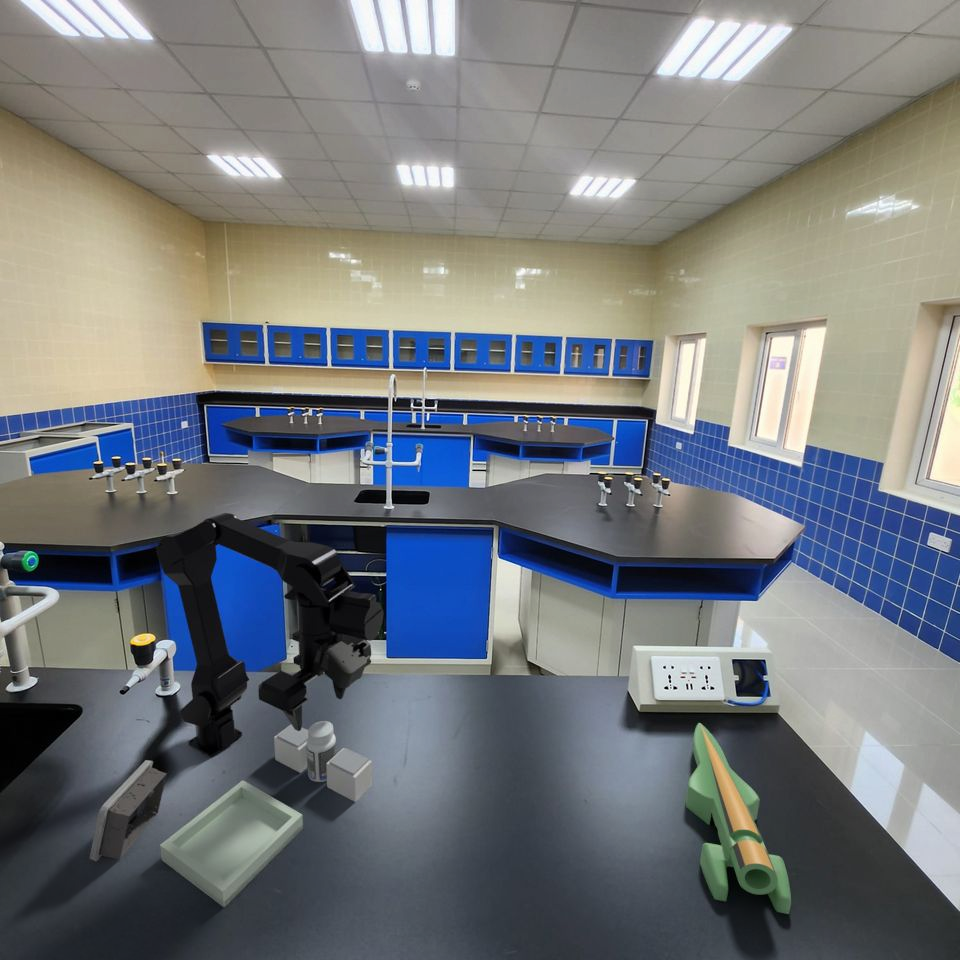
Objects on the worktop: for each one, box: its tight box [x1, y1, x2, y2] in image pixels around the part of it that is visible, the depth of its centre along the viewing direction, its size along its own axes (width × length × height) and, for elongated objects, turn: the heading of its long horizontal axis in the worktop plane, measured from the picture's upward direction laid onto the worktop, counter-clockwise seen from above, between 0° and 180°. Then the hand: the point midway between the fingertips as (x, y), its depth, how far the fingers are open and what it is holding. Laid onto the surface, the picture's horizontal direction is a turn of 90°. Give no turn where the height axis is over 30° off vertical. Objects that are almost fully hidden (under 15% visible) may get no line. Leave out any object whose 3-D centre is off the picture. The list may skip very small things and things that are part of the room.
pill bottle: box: [306, 720, 337, 783], centre depth 86 cm, size 5×5×8 cm
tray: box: [159, 780, 304, 908], centre depth 73 cm, size 13×13×2 cm
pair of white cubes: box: [273, 723, 373, 803], centre depth 86 cm, size 18×4×5 cm, turn 62°
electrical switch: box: [89, 759, 168, 862], centre depth 73 cm, size 9×5×9 cm, turn 176°
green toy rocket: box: [685, 722, 792, 915], centre depth 81 cm, size 32×10×7 cm, turn 169°
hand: (319, 713), depth 84 cm, fingers open, 9 cm apart
